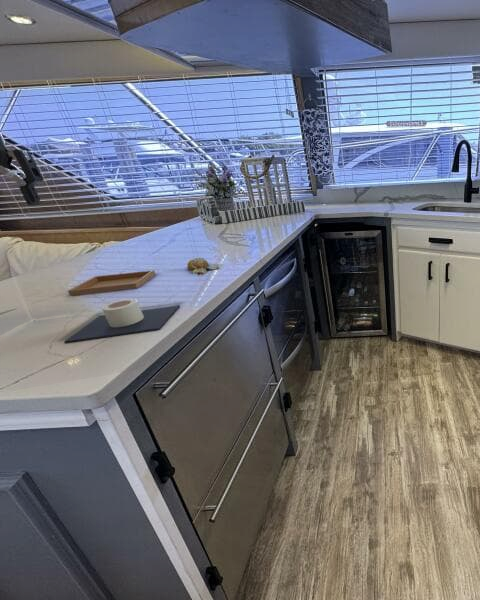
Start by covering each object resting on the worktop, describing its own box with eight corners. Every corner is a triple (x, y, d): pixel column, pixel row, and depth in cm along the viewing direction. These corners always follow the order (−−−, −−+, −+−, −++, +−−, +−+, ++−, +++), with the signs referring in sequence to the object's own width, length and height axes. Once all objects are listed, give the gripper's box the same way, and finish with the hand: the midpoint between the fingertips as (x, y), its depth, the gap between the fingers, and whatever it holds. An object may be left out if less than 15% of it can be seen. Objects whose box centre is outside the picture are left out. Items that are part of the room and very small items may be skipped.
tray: (71, 298, 84) (67, 290, 83) (97, 283, 94) (94, 276, 94) (138, 290, 87) (135, 283, 86) (156, 276, 98) (154, 270, 97)
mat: (64, 343, 61) (63, 341, 61) (100, 316, 72) (99, 315, 72) (159, 329, 65) (158, 328, 65) (180, 306, 76) (179, 305, 75)
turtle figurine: (198, 275, 97) (195, 263, 96) (180, 273, 100) (177, 261, 99) (222, 267, 104) (219, 256, 103) (204, 265, 107) (201, 254, 106)
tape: (103, 329, 65) (95, 311, 63) (118, 317, 70) (111, 300, 69) (136, 325, 66) (129, 307, 65) (148, 313, 72) (142, 296, 70)
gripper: (-111, 113, 55) (-54, 211, 61) (-7, 113, 58) (37, 205, 64) (-66, 119, 61) (-19, 206, 68) (25, 118, 65) (62, 202, 71)
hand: (8, 206), depth 66 cm, fingers open, 8 cm apart
